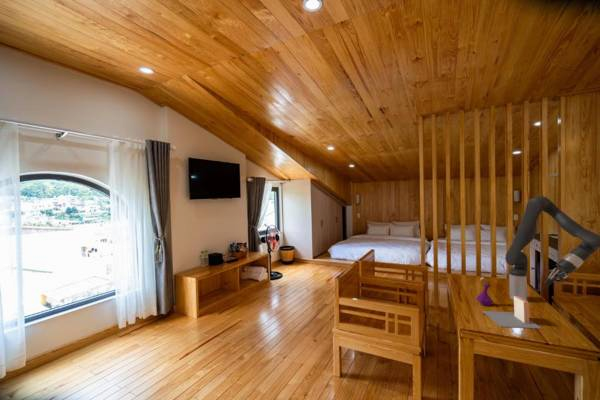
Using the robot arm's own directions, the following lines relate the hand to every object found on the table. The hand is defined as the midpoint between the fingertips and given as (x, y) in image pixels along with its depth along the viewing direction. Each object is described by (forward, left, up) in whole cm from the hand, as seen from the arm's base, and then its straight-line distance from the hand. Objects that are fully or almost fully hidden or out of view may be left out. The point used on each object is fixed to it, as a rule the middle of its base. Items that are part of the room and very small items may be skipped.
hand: (545, 284), depth 149 cm
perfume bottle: (-9, -30, -21) cm, 38 cm away
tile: (+6, -11, -21) cm, 24 cm away
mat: (+9, -16, -21) cm, 28 cm away
